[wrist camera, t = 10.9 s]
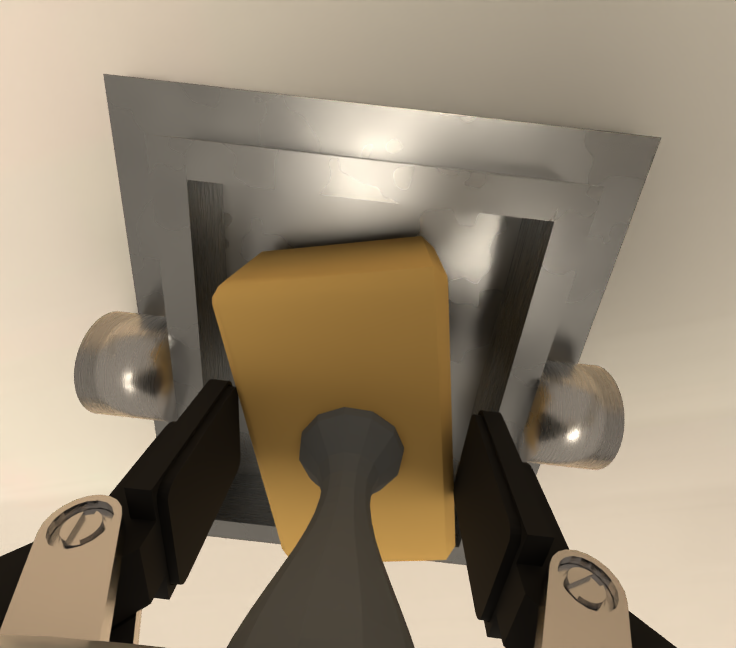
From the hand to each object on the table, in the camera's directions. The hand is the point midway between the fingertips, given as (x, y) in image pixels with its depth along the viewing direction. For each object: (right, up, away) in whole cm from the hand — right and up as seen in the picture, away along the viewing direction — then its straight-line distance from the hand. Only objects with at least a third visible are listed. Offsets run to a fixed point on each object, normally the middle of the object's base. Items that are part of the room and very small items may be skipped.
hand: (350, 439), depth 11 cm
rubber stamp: (0, +1, +3) cm, 4 cm away
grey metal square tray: (0, +2, +5) cm, 6 cm away
